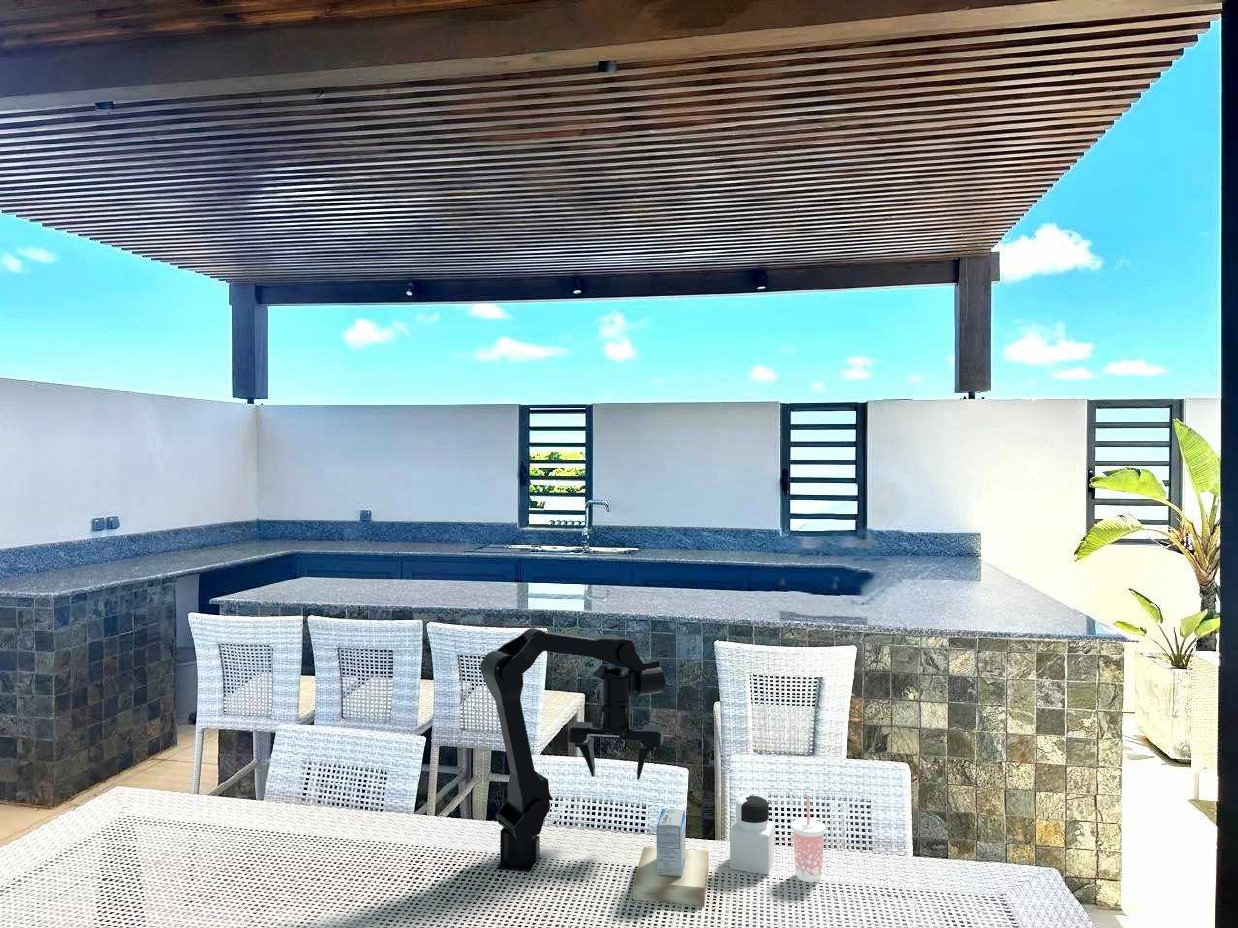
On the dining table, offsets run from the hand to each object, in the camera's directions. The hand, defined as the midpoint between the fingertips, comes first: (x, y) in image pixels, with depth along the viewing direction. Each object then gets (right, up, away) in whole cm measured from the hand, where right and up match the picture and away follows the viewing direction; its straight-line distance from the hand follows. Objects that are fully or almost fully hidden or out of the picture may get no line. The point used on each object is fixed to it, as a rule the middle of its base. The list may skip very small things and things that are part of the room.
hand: (615, 777), depth 160 cm
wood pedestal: (+10, -11, -19) cm, 25 cm away
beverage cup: (+35, -12, -16) cm, 40 cm away
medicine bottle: (+26, -12, -12) cm, 30 cm away
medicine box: (+10, -8, -19) cm, 23 cm away
